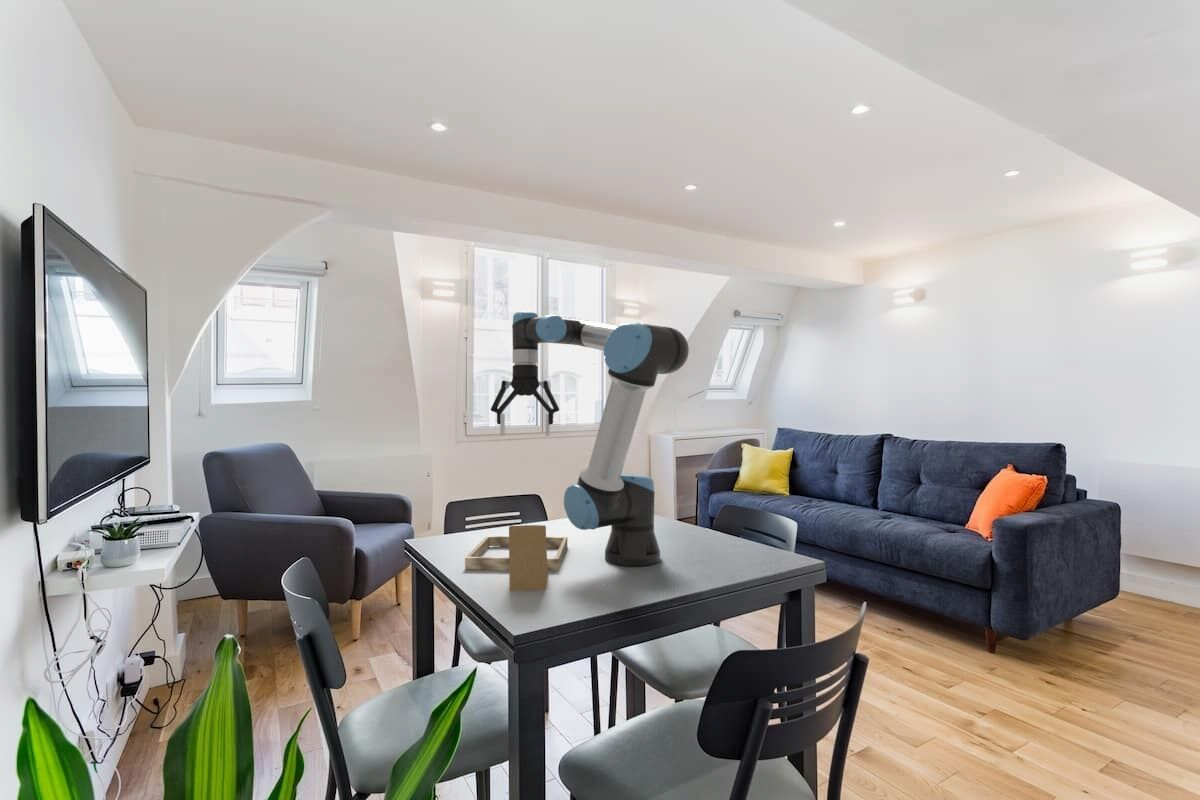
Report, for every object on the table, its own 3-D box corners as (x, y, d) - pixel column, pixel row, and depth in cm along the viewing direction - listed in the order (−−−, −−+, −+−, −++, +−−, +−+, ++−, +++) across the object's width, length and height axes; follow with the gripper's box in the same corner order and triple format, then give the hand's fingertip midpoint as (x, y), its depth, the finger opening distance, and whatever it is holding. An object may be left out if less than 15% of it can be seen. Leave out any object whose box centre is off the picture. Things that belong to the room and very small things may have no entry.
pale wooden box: (567, 547, 174) (567, 537, 174) (558, 570, 150) (558, 559, 150) (486, 546, 175) (486, 536, 175) (465, 569, 151) (465, 557, 151)
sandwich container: (549, 571, 151) (549, 512, 151) (546, 590, 135) (546, 525, 135) (515, 571, 150) (515, 512, 150) (508, 591, 135) (508, 525, 135)
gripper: (568, 365, 180) (567, 434, 180) (486, 365, 181) (486, 434, 181) (565, 363, 173) (565, 436, 173) (480, 363, 174) (480, 436, 174)
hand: (525, 435), depth 177 cm, fingers open, 13 cm apart
